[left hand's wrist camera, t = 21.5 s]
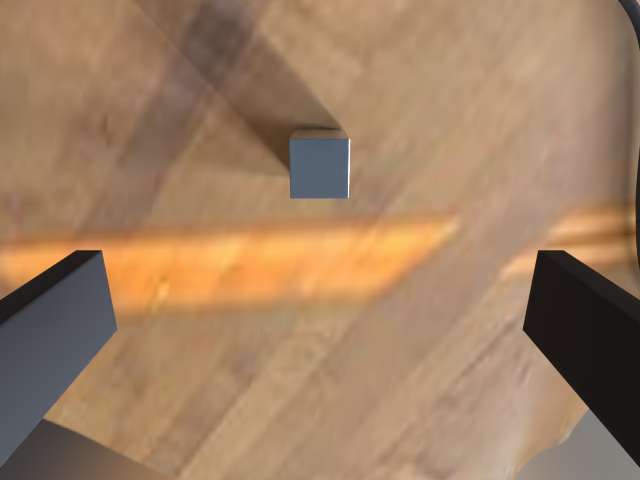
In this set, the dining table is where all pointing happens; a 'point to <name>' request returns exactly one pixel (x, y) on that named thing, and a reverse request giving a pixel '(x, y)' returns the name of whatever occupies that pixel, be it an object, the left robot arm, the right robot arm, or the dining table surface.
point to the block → (319, 164)
